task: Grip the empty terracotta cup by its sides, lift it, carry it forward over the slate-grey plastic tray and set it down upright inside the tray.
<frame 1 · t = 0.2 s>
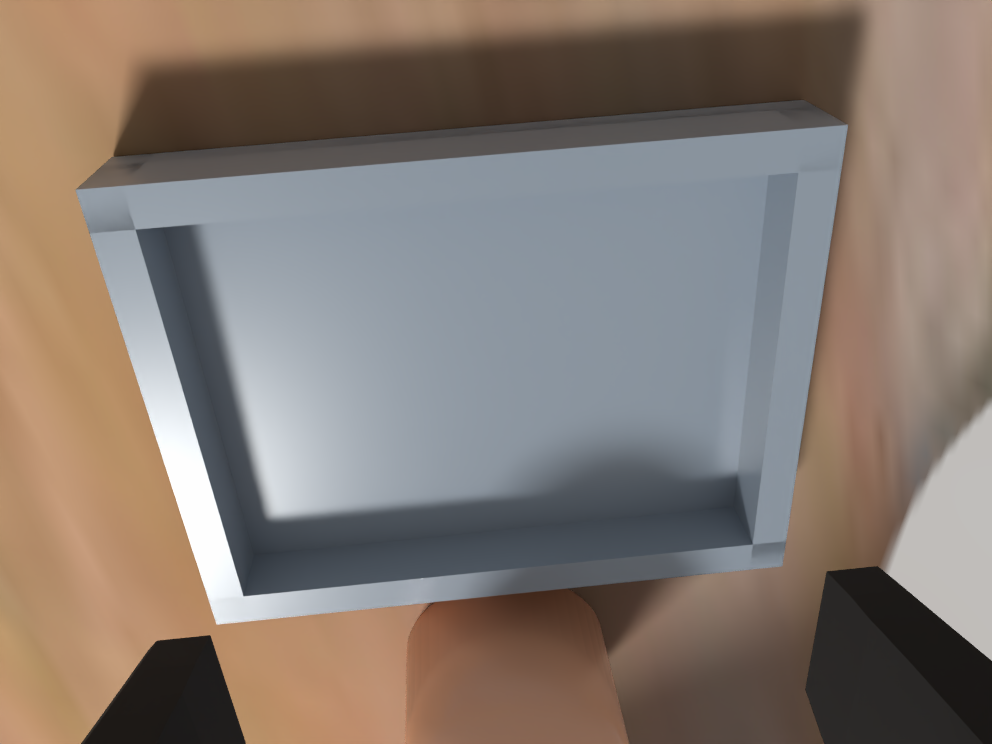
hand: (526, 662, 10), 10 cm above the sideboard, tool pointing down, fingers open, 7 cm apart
tray: (482, 362, 19), on the sideboard
cup: (505, 649, 24), on the sideboard
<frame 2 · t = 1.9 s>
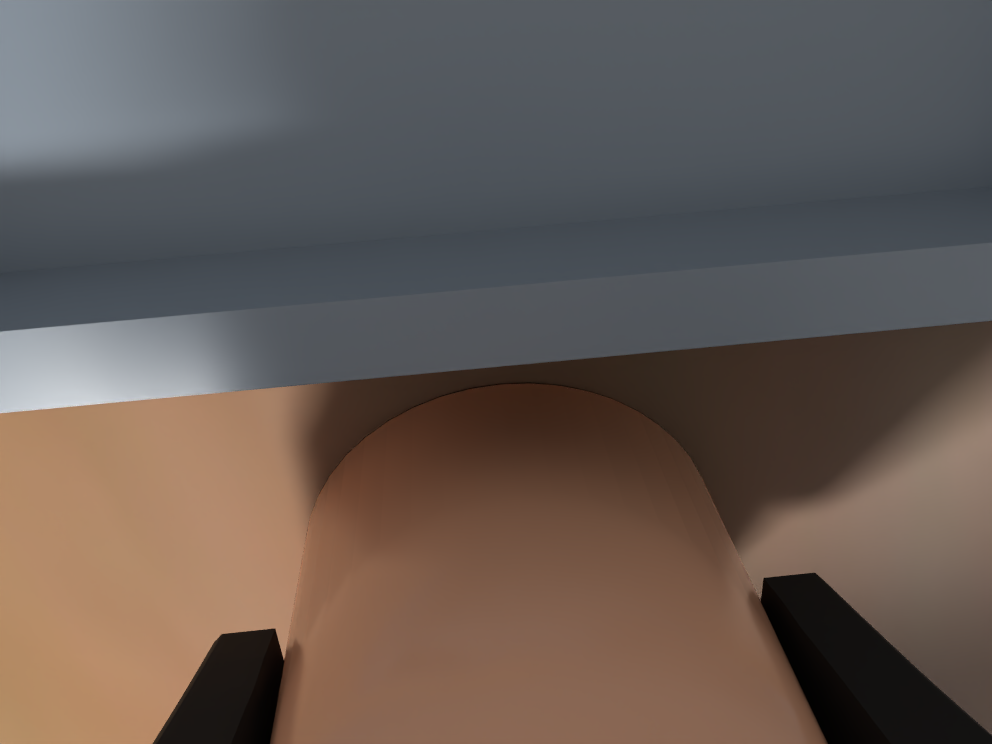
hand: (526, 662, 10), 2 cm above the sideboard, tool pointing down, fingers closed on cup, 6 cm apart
cup: (512, 558, 12), on the sideboard, touching gripper
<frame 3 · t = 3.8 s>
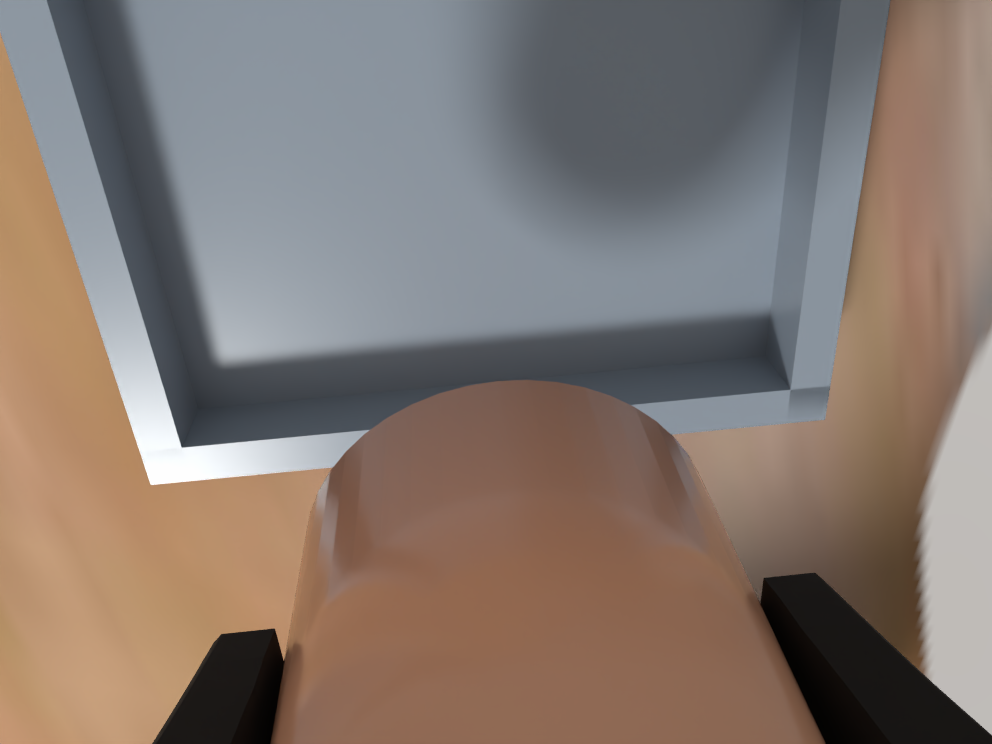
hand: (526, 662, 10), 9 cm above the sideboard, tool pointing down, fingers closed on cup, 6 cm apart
tray: (467, 163, 16), on the sideboard
cup: (510, 552, 12), point 7 cm above the sideboard, touching gripper
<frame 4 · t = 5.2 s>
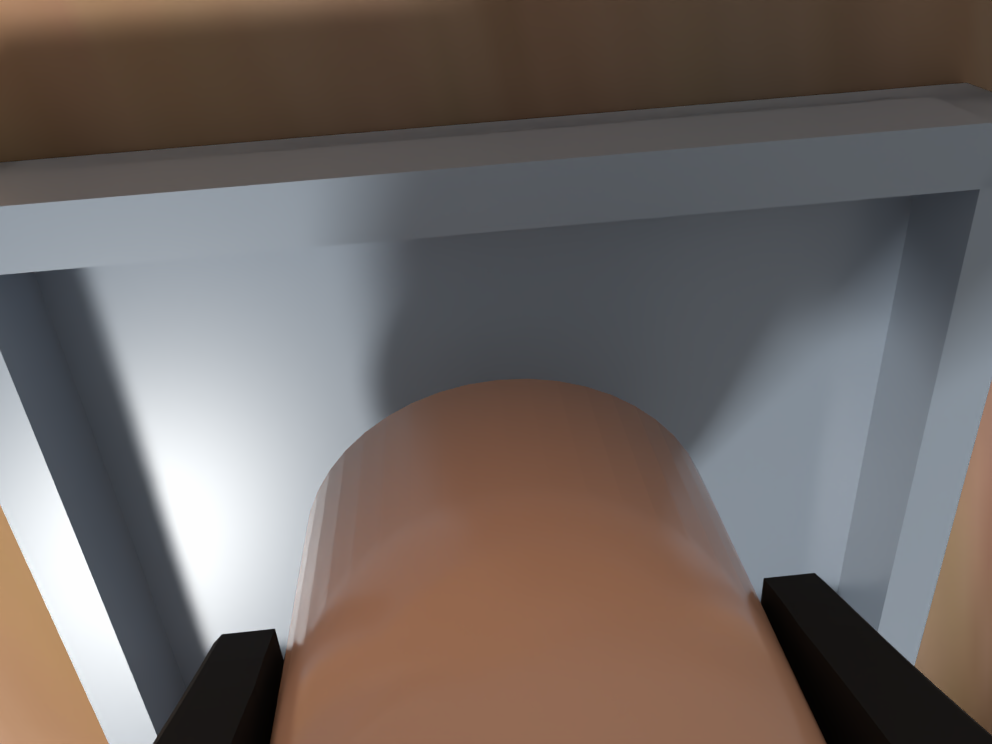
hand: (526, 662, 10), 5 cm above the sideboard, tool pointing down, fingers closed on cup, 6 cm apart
tray: (496, 447, 14), on the sideboard
cup: (510, 551, 12), point 3 cm above the sideboard, touching gripper
when the fingers open (3 cm above the sideboard, at t = 6.0 s): cup stays where it is, resting on tray.
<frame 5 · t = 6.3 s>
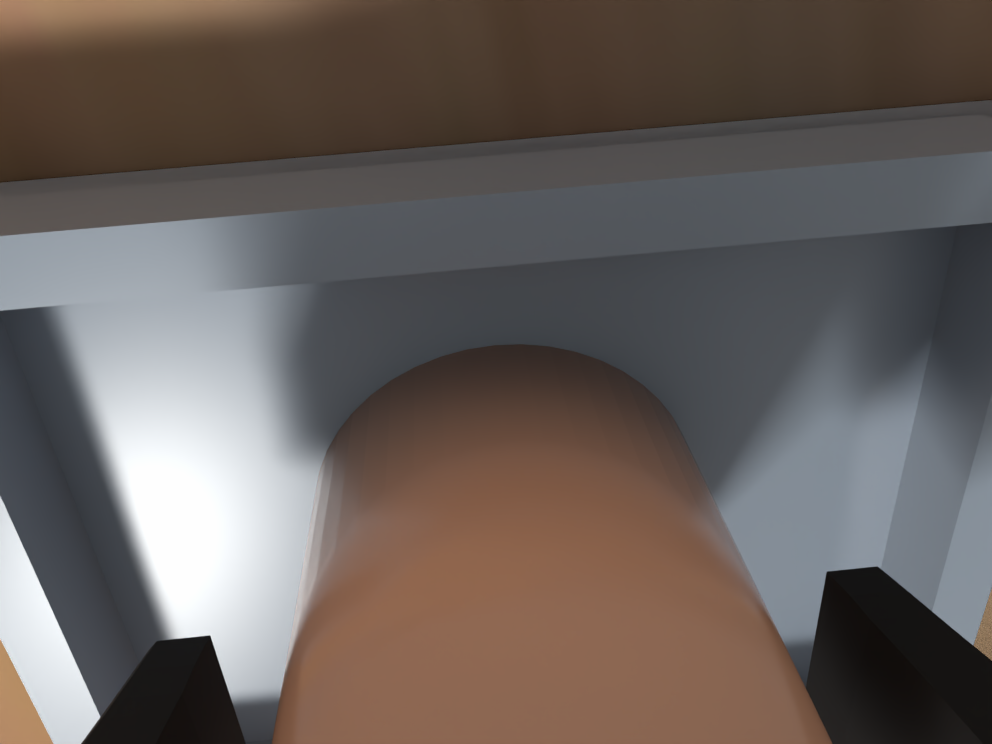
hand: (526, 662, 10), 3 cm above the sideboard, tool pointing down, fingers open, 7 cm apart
tray: (502, 486, 13), on the sideboard
cup: (507, 511, 12), point 1 cm above the sideboard, touching tray
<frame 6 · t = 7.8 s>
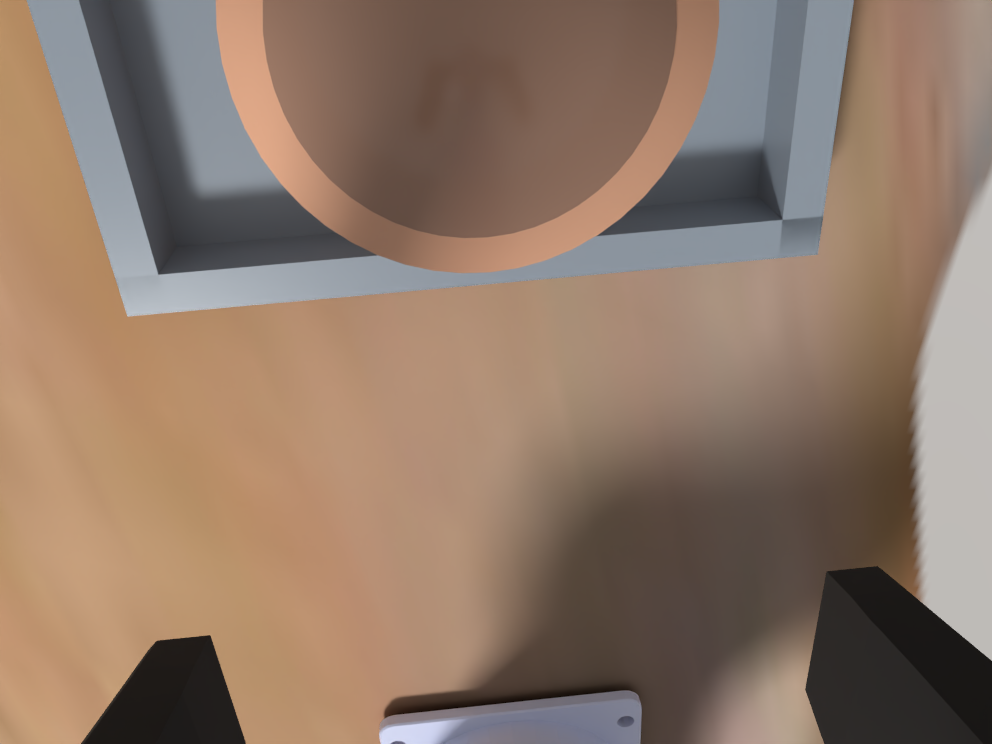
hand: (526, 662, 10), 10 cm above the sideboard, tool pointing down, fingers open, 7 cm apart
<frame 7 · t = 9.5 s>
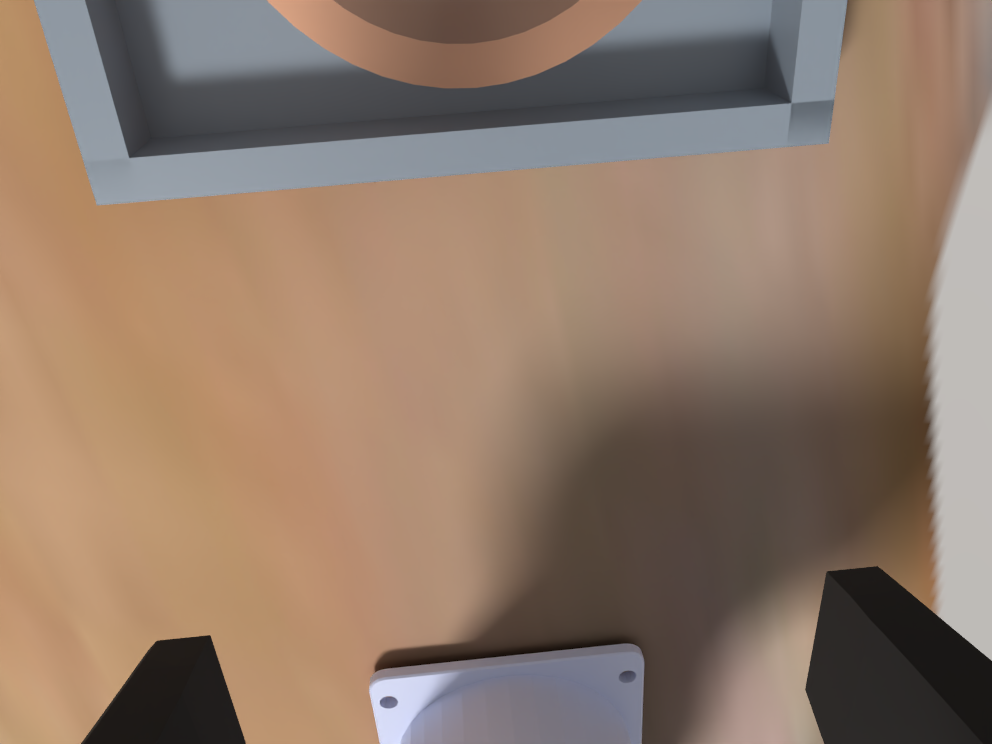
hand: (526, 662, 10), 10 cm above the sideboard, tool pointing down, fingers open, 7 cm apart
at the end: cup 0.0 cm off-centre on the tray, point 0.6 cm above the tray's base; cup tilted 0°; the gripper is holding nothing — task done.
